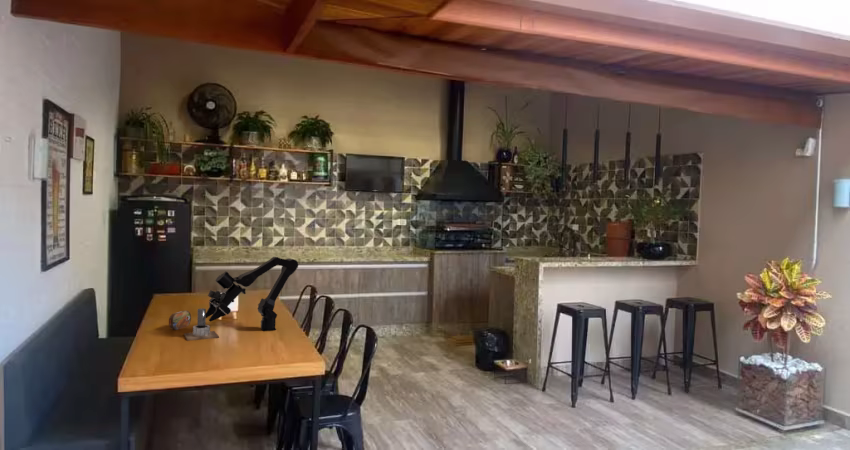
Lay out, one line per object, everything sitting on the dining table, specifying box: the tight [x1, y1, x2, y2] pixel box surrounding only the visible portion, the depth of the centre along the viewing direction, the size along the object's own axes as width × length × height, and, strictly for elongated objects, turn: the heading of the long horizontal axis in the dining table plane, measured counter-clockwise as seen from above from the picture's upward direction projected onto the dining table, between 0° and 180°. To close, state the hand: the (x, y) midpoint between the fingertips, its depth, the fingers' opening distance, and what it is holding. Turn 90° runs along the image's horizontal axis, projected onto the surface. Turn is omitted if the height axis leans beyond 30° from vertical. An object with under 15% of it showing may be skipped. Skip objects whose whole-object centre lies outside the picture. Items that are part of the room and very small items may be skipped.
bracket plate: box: [183, 330, 220, 341], centre depth 267 cm, size 14×12×1 cm
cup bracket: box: [192, 324, 211, 337], centre depth 267 cm, size 7×7×4 cm
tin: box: [168, 310, 192, 331], centre depth 283 cm, size 15×3×8 cm, turn 168°
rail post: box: [196, 308, 207, 328], centre depth 267 cm, size 4×4×12 cm
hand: (207, 319), depth 268 cm, fingers open, 9 cm apart
